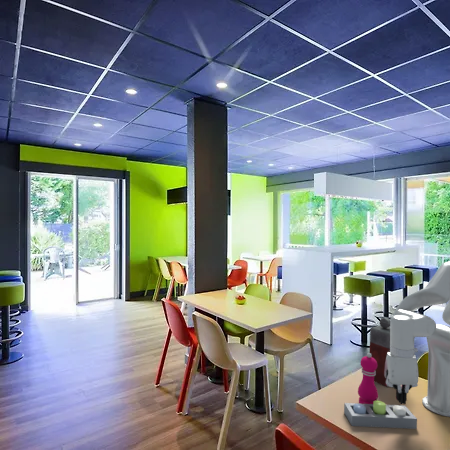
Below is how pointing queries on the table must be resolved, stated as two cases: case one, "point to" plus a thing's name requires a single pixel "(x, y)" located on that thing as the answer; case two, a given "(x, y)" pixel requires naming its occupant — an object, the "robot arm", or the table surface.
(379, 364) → the brown salt grinder
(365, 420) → the panel
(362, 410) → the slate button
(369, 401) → the pepper mill
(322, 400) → the table surface
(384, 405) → the lime button
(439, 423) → the table surface
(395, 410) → the white rounded piece
